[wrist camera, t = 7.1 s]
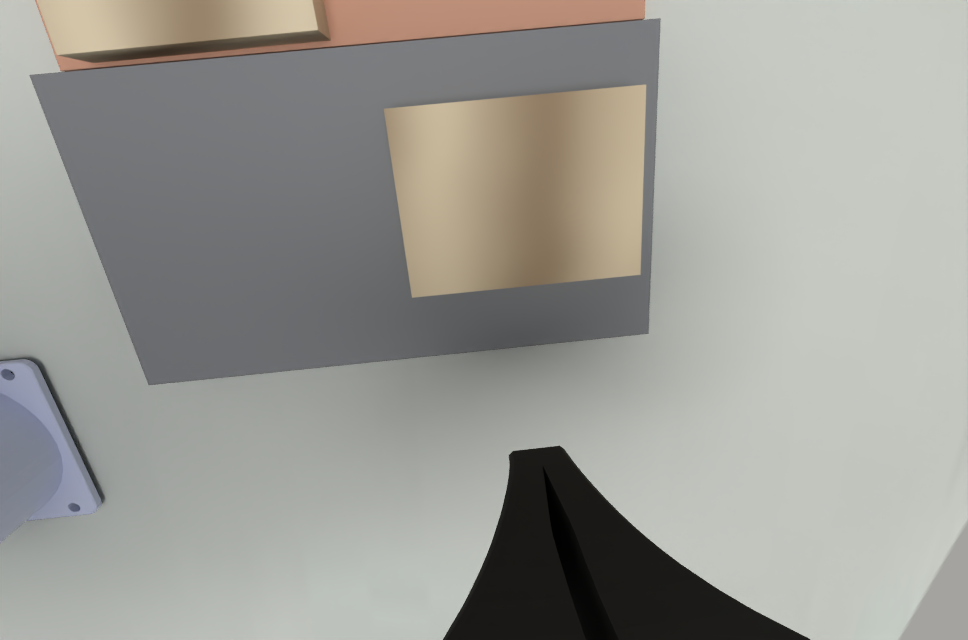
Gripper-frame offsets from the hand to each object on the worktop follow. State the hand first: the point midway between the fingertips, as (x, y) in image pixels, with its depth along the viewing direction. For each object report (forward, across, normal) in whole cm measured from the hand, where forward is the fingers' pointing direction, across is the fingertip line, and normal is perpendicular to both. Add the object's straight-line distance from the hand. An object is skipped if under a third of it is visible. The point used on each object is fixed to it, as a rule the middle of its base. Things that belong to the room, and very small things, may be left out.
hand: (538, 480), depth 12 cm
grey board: (+9, +4, -6) cm, 12 cm away
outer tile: (+7, -1, -6) cm, 10 cm away
